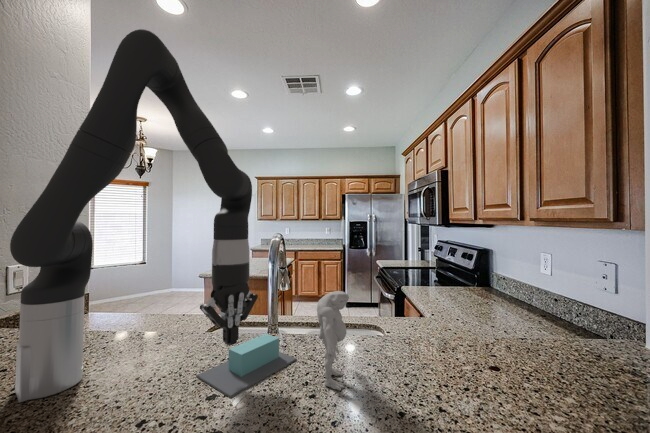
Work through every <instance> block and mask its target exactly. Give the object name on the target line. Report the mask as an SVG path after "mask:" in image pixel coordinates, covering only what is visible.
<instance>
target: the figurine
mask: <svg viewBox="0 0 650 433" xmlns="http://www.w3.org/2000/svg"><path fill="white" fill-rule="evenodd" d="M349 299H350V296H349V295H348V293H346V292H345V291H342V290H336V291H335V290H334V291H330V292H328V293H326V294H325V295H323V296H322V297H321V298H320V299H318V301H317V305H316V306H317V307H316V316H317V320H318V323H319V334H318V338H319V339H320V340H322V341H323V346H324V347H325V352H324V359H325V361H324V369H325V371H324V377H326V380H325V382H324V385H325V386H326V387H329V388H331V389H333V390H337V391H340V392H341V391H342V389H344V383H343V382H339V381H336V380H335V379H333V378H332V376H335V377H338V376H339V377H342V376H343V373H342V371H341V370H340V369H338V368H336V369H334V368H333V364H334V363H333V362H334V361H336V362H338V361H339V360H338V357H337V355H340V350H339V349H338V347H337V346H338V342H342V341H344V339H345V338H346V337H347V326H346V323H345V322H344V321H343V315H342V313H341V310H343V309H344V308H346V307H345V306H346V305H347V303H348V301H349Z"/></svg>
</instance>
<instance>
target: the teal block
mask: <svg viewBox="0 0 650 433" xmlns="http://www.w3.org/2000/svg"><path fill="white" fill-rule="evenodd" d="M279 352H280V338H279V337H277V336H274V335H271V334H268V333H265V334H262V335H260V336H257V337H255V338H253V339H250V340H248V341H245V342H243V343H240V344H237V345H235V346H233V347H231V348H228V361H229V371H231V372H233V373H235V374H237V375H239V376H241V377H242V376H244V375H246V374H247V373H249V372H251V371H253V370H255V369H257V368H259V367H261V366H263V365H265V364H267V363H269V362H271V361H272V360H274V359H276V358H278V357H279Z"/></svg>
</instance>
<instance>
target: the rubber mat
mask: <svg viewBox="0 0 650 433" xmlns="http://www.w3.org/2000/svg"><path fill="white" fill-rule="evenodd" d="M297 359H298V358H296V357H294V356H292V355H289V354H286V353H284V352H281V351H279V357H278V358H276V359H274V360H272V361H271V362H269V363H267V364H265V365H263V366H261V367H259V368H257V369H255V370H253V371H251V372H249V373H247V374H246V375H244V376H242V377H241V376H239V375H237V374H235V373H233V372H231V371H229V360H227V361H225V362H223V363H220V364H219V365H215V366H214V367H211V368H210V369H207V370H204V371H203V372H199V373H198V374H196V378H198V379H199V380H200V381H202V382H204V383H205V384H207V385H209V386H210V387H212V388H214V389H215V390H217V391H219V392H220V393H222V394H224V395H225V396H226V397H228V398H230V399H231V398H233V397H235V396H237V395H239V394H240V393H241V392H243V391H244V392H245V390H247V389H249V388H250V387H252V386H255V385H256V384H257V383H259V382H261V381H263V380H265V379H266V378H268V377H270V376H272V375H273V374H275V373H276V372H278V371H280V370H282V369H283V368H284V369H285V367H288V366H289V365H291V364H293V363H294V362H296V361H297Z"/></svg>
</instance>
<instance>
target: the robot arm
mask: <svg viewBox="0 0 650 433" xmlns="http://www.w3.org/2000/svg"><path fill="white" fill-rule="evenodd" d="M107 71H108V72H107V74H106V76H105V78H104V82H103V84H102V85H101V88H100V90H99V92H98V93H97V96H96V98H94V99H95V100H94V102H93V103H92V105H91V108H90V110H89V111H88V113H87V115H86V117H85V118H84V120H83V122H82V123H81V125H79V128H78V129H77V132H76V134H75V135H74V137H73V138H72V140H71V142H70V144H69V146H68V148H67V149H66V152H65V155H64V157H63V158H62V160H61V161H60V163H59V164H58V166H57V168H56V169H55V171H54V173H53V175H52V176H51V178H50V180H49V181H48V183H47V185H46V187H45V188H44V190H42V193H41V194H40V195H39V197H38V198H37V199H36V200H35V202H34V203H33V205H32V206H31V207H30V208H29V210H28V211H27V213H26V214H25V215H24V217H23V218H22V220H21V221H20V222H19V223H18V225H17V226H16V228H15V230H14V231H13V232H12V236H11V239H10V244H9V246H10V247H9V249H10V250H9V251H10V253H11V256H12V258H13V259H14V261H15V262H16V263H17V264H20V265H22V266H24V267H30V268H40V269H39V273H38V274H37V275H36V276H35V278H34V279H33V280H32V281H31V282H29V283H28V284H26V285H25V286H24V287H23V288H22V289H21V292H20V308H19V333H18V341H17V342H16V360H15V383H14V385H15V386H14V392H15V395H16V398H17V401H18V403H23V402H27V401H30V400H36V399H37V400H38V399H42V398H46V397H50V396H52V395H53V396H54V395H57V394H59V393H61V392H63V391H66V390H68V389H70V388H72V387H74V386H75V385H77V384H78V383H80V381H82V378H83V369H84V367H83V365H84V336H85V335H84V334H85V333H84V330H85V329H84V328H85V301H86V300H85V294H86V287H87V284H88V283H89V280H90V278H91V273H92V272H91V271H92V261H93V260H92V258H93V247H94V246H93V242H94V241H93V236H92V232H91V231H90V229H89V228H88V226H86V225H85V224H84V223H83V222H81V221H79V220H78V219H79V218H80V215H81V214H82V211H83V210H84V209H85V207H86V206H87V205H88V203H90V201H92V199H93V198H95V197H96V196H97V195H98V194H99V193H100V192H102V191H103V190H104V189H106V187H108V186H109V185H110V184H111V183H112V182H113V181H114V180H115V179H116V178H117V177H118V176H119V175H120V174H121V173H122V171H123V169H124V168H125V166H126V164H127V162H128V161H129V159H130V157H131V155H132V153H133V151H134V148H135V146H136V142H137V126H138V124H137V123H138V122H137V121H138V120H137V119H138V108H139V107H138V106H139V102H140V99H141V97H142V95H143V93H144V91H145V90H146V88H148V89H149V90H150V91H151V92H152V93H153V94H154V95H155V96H156V97H157V98H158V99H159V101H161V102H162V104H163V105H164V106H165V107H166V109H167V110H168V112H169V114H170V115H171V117H172V119H173V122H174V125H175V127H176V129H177V132H178V134H179V136H180V138H181V140H182V141H183V143H184V145H185V146H186V147H187V149H188V150H189V152H190V153H191V155H192V156H193V158H194V159H195V161H196V162H197V165H198V167H199V170H200V172H201V174H202V177H203V179H204V182H206V185H207V186H208V187H209V189H210V190H211V192H213V194H215V195H216V196H217V197H218V198H221V199H220V200H221V202H220V209H219V211H218V212H217V213H216V214H215V216H214V218H213V244H212V250H211V284H212V290H211V292H210V298H209V299H208V300H207V301H206V302H205V303H202V304H200V305H199V309H200V311H202V313H203V314H204V315H205V317H207V318H208V320H209V321H210V322H211V323H212V324H213V325H214V326H218V327H220V328H222V341H223V343H224V344H225V345H227V346H230V347H231V346H233V345H236V344H237V342H238V339H239V330H240V329H239V326H240V324H241V322H243V321H246V320H247V318H248V316H249V315H250V313H251V311H252V309H253V307H254V305H255V304H256V302H257V300H258V298H259V297H258V296H259V295H258V294H257V293H253V292H252V291H250V286H249V281H250V243H249V216H250V210H251V204H252V199H253V198H252V197H253V185H252V180H251V178H250V176H249V175H248V174H247V173H246V172H245V171H243V170H241V169H239V167H238V166H237V165H236V164H235V162H234V161H233V159H232V158H231V156H230V155H229V150H228V148H227V145H226V144H225V142H224V141H223V139H222V137H221V136H220V134H219V133H218V130H216V128H215V127H214V125H213V124H212V122H211V121H210V120H209V118H208V117H207V116H206V114H205V113H204V112H203V110H202V109H201V107H200V106H199V104H198V102H196V100H195V98H194V97H193V95H192V93H191V91H190V89H189V87H188V84H187V82H186V80H185V78H184V75H183V72H182V71H181V68H180V65H179V63H178V60H176V58H175V57H174V56H173V54H172V52H170V50H169V49H168V47H167V46H166V44H164V42H163V41H162V40H161V39H160V38H159V36H158V35H156V34H155V33H154V32H153V31H150V30H148V29H144V28H143V29H142V28H140V29H134V30H132V31H131V32H129V33H128V34H126V35H125V37H124V38H123V39H122V40H121V42H120V43H119V44H118V47H117V49H116V51H115V54H114V55H113V58H112V61H111V63H110V66H109V69H108V70H107ZM217 308H218V312H217V311H216V310H217Z"/></svg>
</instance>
